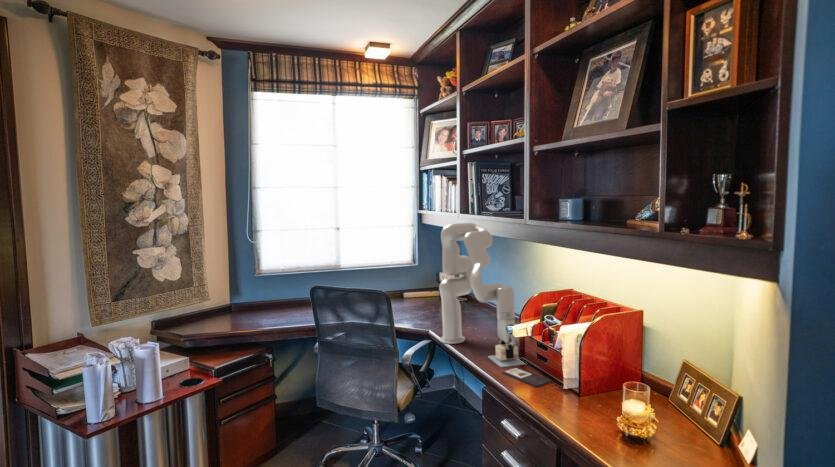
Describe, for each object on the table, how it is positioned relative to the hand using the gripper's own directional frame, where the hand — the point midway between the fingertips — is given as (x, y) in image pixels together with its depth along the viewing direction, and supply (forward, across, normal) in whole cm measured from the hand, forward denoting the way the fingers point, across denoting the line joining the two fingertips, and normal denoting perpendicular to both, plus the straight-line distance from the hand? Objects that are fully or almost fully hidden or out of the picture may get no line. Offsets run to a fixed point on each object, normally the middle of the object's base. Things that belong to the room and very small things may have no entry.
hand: (506, 355), depth 197 cm
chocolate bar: (+3, -20, +1) cm, 20 cm away
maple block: (+1, 0, 0) cm, 1 cm away
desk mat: (+2, 0, 0) cm, 2 cm away
